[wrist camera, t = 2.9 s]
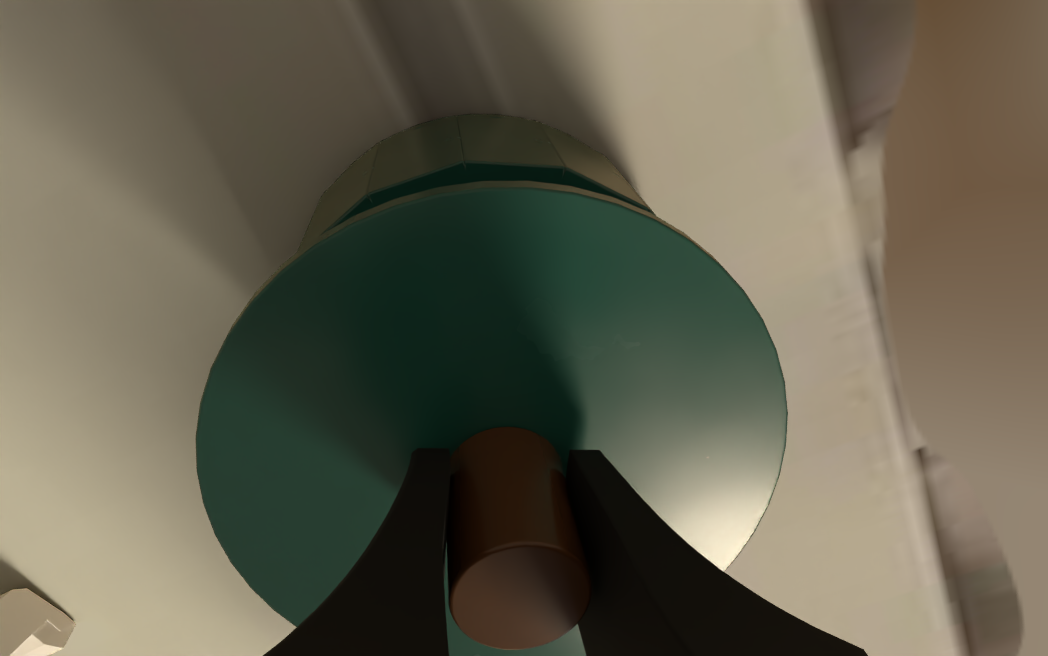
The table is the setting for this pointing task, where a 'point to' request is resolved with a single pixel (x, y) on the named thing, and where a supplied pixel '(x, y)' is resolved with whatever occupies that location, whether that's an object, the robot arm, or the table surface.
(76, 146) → the table surface
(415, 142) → the pot
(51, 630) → the cat figurine
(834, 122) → the table surface
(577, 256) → the lid
